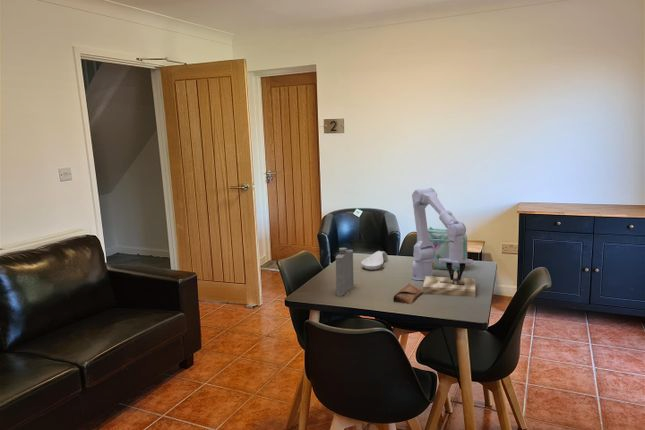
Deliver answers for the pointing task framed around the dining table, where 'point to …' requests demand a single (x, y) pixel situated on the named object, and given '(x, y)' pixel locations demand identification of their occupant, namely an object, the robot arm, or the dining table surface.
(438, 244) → the lunch box
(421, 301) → the dining table surface
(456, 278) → the peg
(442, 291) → the keyhole plate
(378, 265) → the spoon rest
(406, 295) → the sunglasses case
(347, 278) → the hip flask
